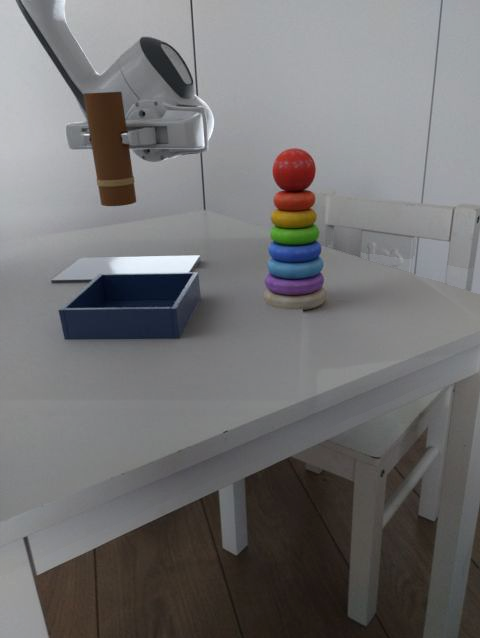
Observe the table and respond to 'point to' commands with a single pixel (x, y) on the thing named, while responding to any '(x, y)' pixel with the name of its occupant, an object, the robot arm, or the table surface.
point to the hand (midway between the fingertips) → (105, 139)
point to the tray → (132, 306)
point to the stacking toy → (294, 237)
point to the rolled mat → (110, 148)
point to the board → (125, 267)
